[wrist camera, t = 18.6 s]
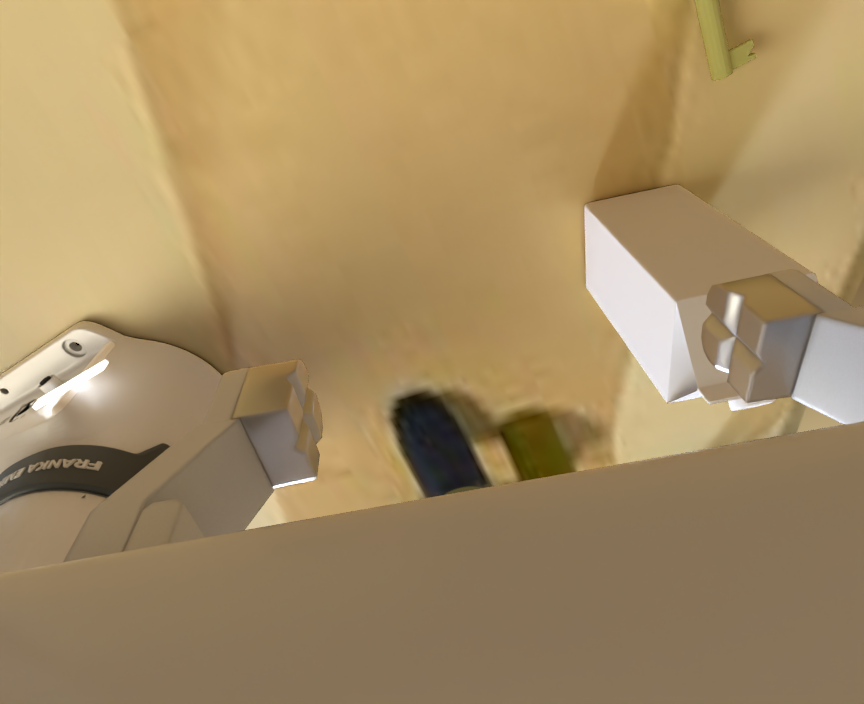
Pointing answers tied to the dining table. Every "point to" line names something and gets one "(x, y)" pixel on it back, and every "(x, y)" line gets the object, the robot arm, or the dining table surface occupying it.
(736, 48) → the key
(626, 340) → the milk carton
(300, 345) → the dining table surface
